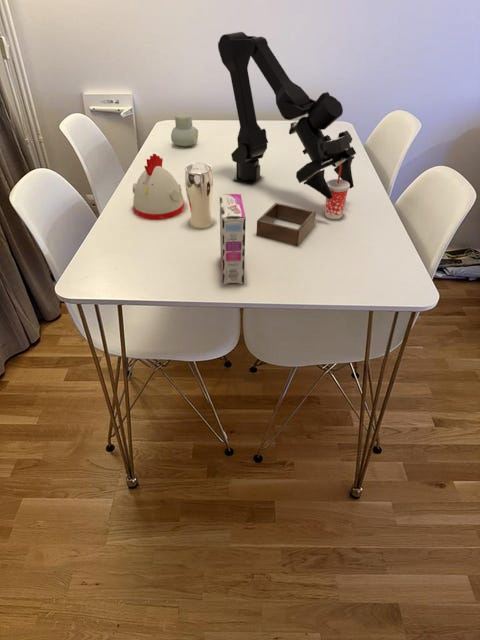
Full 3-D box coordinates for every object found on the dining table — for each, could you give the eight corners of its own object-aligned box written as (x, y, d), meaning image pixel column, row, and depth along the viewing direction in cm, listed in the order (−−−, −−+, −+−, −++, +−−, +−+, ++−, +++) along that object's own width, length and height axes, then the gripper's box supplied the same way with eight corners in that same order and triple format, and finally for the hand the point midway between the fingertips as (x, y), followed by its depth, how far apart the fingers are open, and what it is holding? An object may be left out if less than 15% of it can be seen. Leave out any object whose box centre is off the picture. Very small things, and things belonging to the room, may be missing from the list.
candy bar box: (245, 284, 101) (246, 217, 91) (222, 285, 101) (221, 218, 90) (241, 257, 110) (241, 192, 99) (220, 258, 109) (218, 193, 99)
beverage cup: (345, 221, 123) (354, 170, 114) (322, 220, 124) (329, 169, 115) (343, 210, 128) (351, 160, 119) (321, 209, 128) (327, 160, 119)
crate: (256, 235, 117) (256, 220, 115) (274, 216, 125) (275, 202, 122) (297, 246, 113) (299, 231, 111) (314, 226, 121) (316, 211, 118)
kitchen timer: (125, 214, 126) (115, 160, 116) (149, 194, 136) (142, 142, 126) (170, 223, 122) (164, 168, 113) (192, 201, 132) (188, 149, 122)
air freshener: (177, 138, 172) (175, 110, 166) (199, 139, 171) (198, 111, 165) (170, 148, 164) (167, 119, 157) (193, 150, 163) (191, 120, 156)
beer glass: (218, 219, 124) (216, 164, 114) (208, 231, 119) (206, 175, 109) (194, 215, 126) (191, 161, 116) (184, 227, 121) (179, 171, 111)
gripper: (309, 130, 108) (341, 189, 109) (355, 113, 118) (384, 168, 119) (282, 155, 117) (311, 209, 118) (327, 137, 127) (354, 187, 128)
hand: (341, 192), depth 120 cm, fingers open, 9 cm apart
